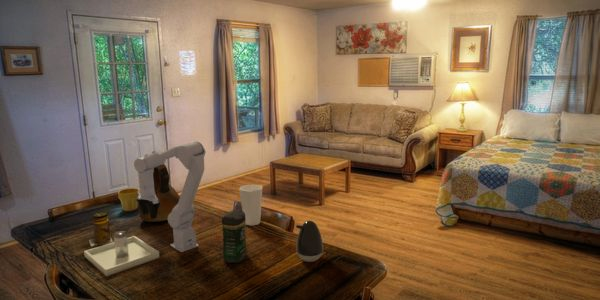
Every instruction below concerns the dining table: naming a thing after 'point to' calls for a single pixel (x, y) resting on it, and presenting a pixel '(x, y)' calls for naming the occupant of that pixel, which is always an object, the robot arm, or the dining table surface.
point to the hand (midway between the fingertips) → (149, 216)
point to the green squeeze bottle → (234, 236)
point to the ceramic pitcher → (162, 195)
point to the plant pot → (128, 198)
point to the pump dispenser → (309, 242)
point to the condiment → (101, 229)
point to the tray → (111, 264)
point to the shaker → (121, 244)
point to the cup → (251, 203)
